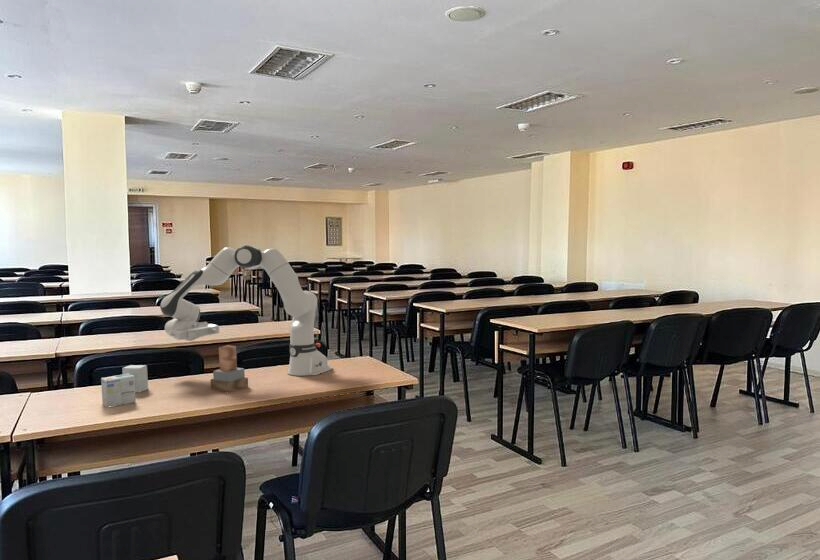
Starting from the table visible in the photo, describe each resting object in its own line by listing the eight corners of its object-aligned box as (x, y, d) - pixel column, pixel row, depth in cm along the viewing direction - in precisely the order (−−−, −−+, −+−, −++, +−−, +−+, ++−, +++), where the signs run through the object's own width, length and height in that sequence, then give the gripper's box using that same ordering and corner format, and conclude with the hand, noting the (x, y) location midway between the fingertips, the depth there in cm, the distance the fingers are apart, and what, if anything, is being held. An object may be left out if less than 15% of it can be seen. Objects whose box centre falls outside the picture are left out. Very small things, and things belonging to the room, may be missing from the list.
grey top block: (228, 375, 244) (228, 366, 244) (244, 377, 240) (244, 368, 240) (213, 380, 236) (213, 370, 236) (229, 382, 232) (229, 373, 232)
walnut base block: (232, 384, 246) (232, 374, 246) (248, 388, 240) (247, 377, 240) (210, 389, 238) (210, 379, 237) (226, 393, 231) (226, 383, 231)
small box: (148, 389, 237) (147, 365, 237) (141, 392, 232) (139, 368, 231) (130, 388, 238) (129, 364, 237) (122, 392, 233) (121, 367, 232)
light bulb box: (130, 398, 223) (129, 372, 222) (136, 402, 218) (135, 375, 217) (101, 404, 215) (100, 377, 215) (106, 408, 211) (105, 380, 210)
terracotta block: (229, 367, 241) (228, 344, 240) (237, 368, 239) (235, 346, 238) (219, 370, 237) (218, 347, 236) (227, 371, 235) (226, 348, 234)
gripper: (167, 327, 246) (184, 329, 238) (208, 321, 262) (225, 323, 254) (168, 341, 246) (185, 344, 238) (209, 334, 263) (226, 337, 254)
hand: (206, 333), depth 246 cm, fingers open, 8 cm apart
